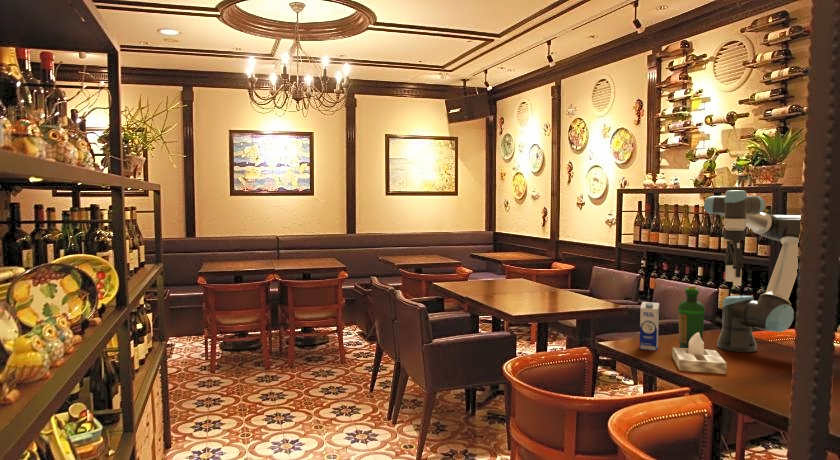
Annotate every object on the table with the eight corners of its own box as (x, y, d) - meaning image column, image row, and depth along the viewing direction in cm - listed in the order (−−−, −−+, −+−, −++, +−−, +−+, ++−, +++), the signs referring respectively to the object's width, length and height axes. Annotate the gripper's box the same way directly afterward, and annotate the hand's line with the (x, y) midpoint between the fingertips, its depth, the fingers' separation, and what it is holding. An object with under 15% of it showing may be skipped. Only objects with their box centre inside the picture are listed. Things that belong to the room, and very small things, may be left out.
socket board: (715, 360, 240) (715, 350, 240) (726, 374, 220) (726, 363, 220) (672, 356, 244) (672, 347, 244) (679, 370, 224) (679, 359, 224)
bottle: (682, 346, 263) (684, 283, 262) (707, 350, 256) (709, 285, 255) (672, 350, 256) (674, 285, 255) (698, 354, 248) (700, 288, 247)
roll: (685, 330, 239) (697, 330, 240) (684, 360, 239) (697, 359, 240) (695, 333, 233) (707, 333, 234) (694, 364, 233) (707, 363, 235)
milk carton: (658, 347, 260) (659, 302, 259) (656, 351, 254) (657, 304, 253) (641, 345, 263) (642, 301, 262) (639, 349, 257) (640, 303, 256)
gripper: (717, 228, 246) (716, 279, 247) (731, 230, 222) (729, 287, 223) (737, 228, 244) (736, 280, 245) (753, 231, 220) (751, 288, 221)
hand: (733, 283), depth 234 cm, fingers open, 13 cm apart
